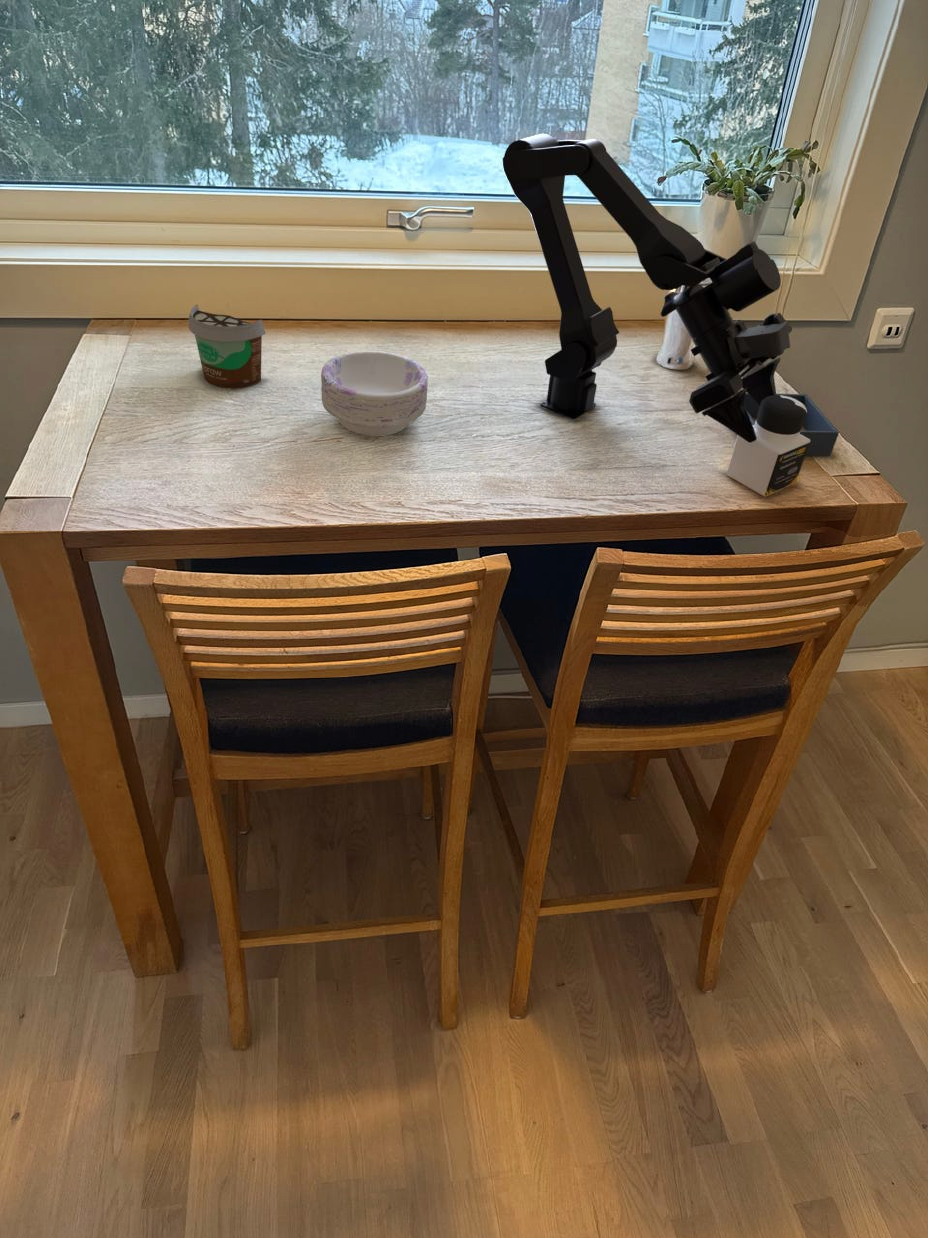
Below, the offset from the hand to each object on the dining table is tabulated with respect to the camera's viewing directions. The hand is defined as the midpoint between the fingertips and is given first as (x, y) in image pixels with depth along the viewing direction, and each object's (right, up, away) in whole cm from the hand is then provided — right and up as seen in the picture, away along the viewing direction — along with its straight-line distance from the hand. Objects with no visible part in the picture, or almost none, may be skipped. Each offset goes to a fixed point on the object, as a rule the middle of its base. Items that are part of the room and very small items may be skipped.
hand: (765, 428), depth 124 cm
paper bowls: (-55, +3, +9) cm, 56 cm away
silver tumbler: (-5, +18, +33) cm, 38 cm away
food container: (-79, +10, +16) cm, 81 cm away
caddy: (+7, +2, +15) cm, 16 cm away
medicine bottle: (+1, -7, +4) cm, 8 cm away
